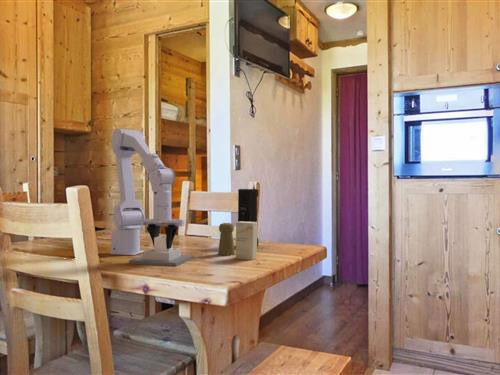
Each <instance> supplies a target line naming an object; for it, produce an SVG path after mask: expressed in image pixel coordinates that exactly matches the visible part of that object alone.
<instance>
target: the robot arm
mask: <svg viewBox="0 0 500 375" xmlns="http://www.w3.org/2000/svg"><path fill="white" fill-rule="evenodd" d="M111 144H112V145H111V147H112V153H113V154H115V160H116V161H115V162H116V170H117V171H116V172H117V179H118V187H119V188H118V190H119V199H120V201H119V203H117V204H116V205H115V206H114V208H113V216H112V217H113V218H112V221H113V225H114V226H115V227H116V228H115V229H113V230H112V231H111V236H110V242H111V243H110V247H111V248H110V253H109V255H121V256H123V255H124V256H135V255H139V254H143V251H145V250H144V249H143V250H141V240H140V239H141V229H142V228H143V226H147V227H146V231H147V232H148V234H149V236H150V239H151V241H152V245H153V246H152V247H154V238H155V237H159V236H160V231H161V227H163V226H164V231H165V236H166V245H167V249H170V248H171V247H172V248H173V242H174V238H175V236H176V233H177V232H178V230H179V227H184V226H185V219H176V218H175V219H174V218H172V186H173V185H174V184H175V181H176V174H175V172H174V170H173V168H168V167H166V166H165V164H164V163H163V161H162V160H161V159H160V157H159V155H158V154H157V153H153V152H151V150H150V148H149V146H148V145H147V143H146V136H145V134H144V132H143V131H142V130H139V129H138V130H136V129H128V128H127V129H125V128H119V127H117V128H115V129H114V131H113V133H112V135H111ZM136 154H137V155H139V157H140V158H141V159H142V160H141V164H142V166H143V168H144V169H145V171H146V172H147V174H148V175H149V183H150V186H151V192H153V193H152V194H153V195H152V197H153V200H152V202H153V203H152V204H153V205H152V206H153V207H152V208H153V209H152V210H153V211H152V212H153V215H152V216H153V218H146V214H145V212H144V210H143V209H144V208H143V205H142V204H141V203H140V202H138V201H137V200H136V192H135V184H134V175H133V165H132V156H134V155H136Z"/></svg>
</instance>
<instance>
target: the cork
mask: <svg viewBox="0 0 500 375" xmlns="http://www.w3.org/2000/svg"><path fill="white" fill-rule="evenodd" d="M234 229H235V226H234V224H233V223H231V222H223V223H220V224H219V226H218V230H219V232H220V234H219V243H218V251H217V255H218V256H222V257H230V256H231V255H232V256H234V255H235V256H236V249H235V244H234V236H233V232H234Z"/></svg>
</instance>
